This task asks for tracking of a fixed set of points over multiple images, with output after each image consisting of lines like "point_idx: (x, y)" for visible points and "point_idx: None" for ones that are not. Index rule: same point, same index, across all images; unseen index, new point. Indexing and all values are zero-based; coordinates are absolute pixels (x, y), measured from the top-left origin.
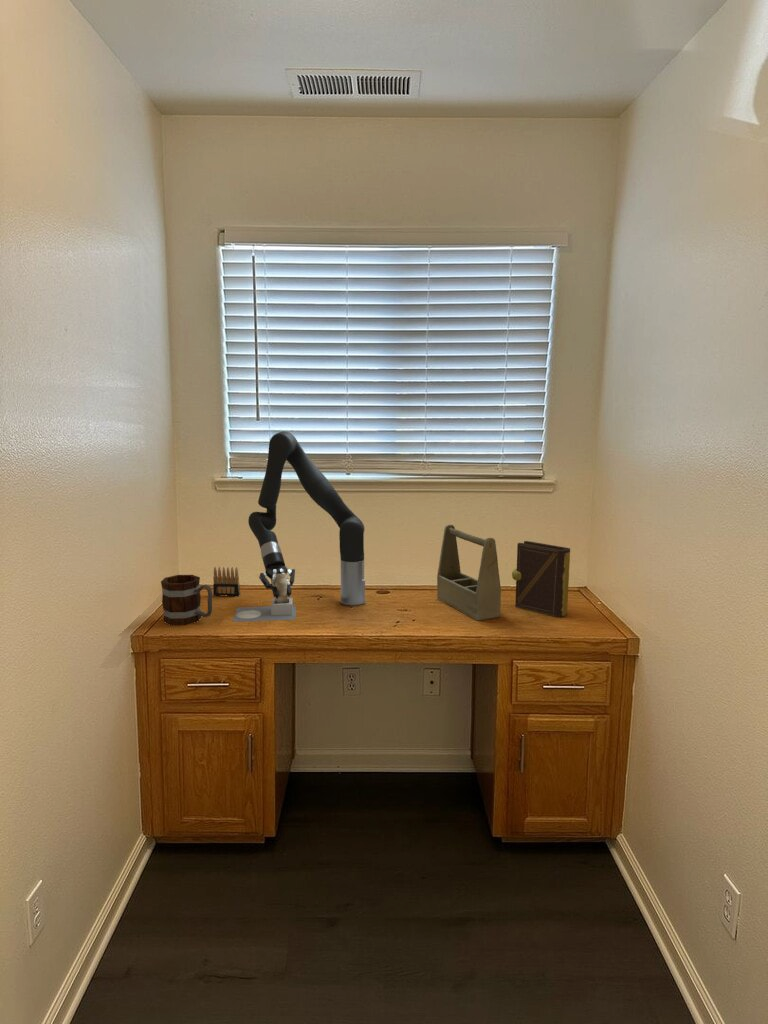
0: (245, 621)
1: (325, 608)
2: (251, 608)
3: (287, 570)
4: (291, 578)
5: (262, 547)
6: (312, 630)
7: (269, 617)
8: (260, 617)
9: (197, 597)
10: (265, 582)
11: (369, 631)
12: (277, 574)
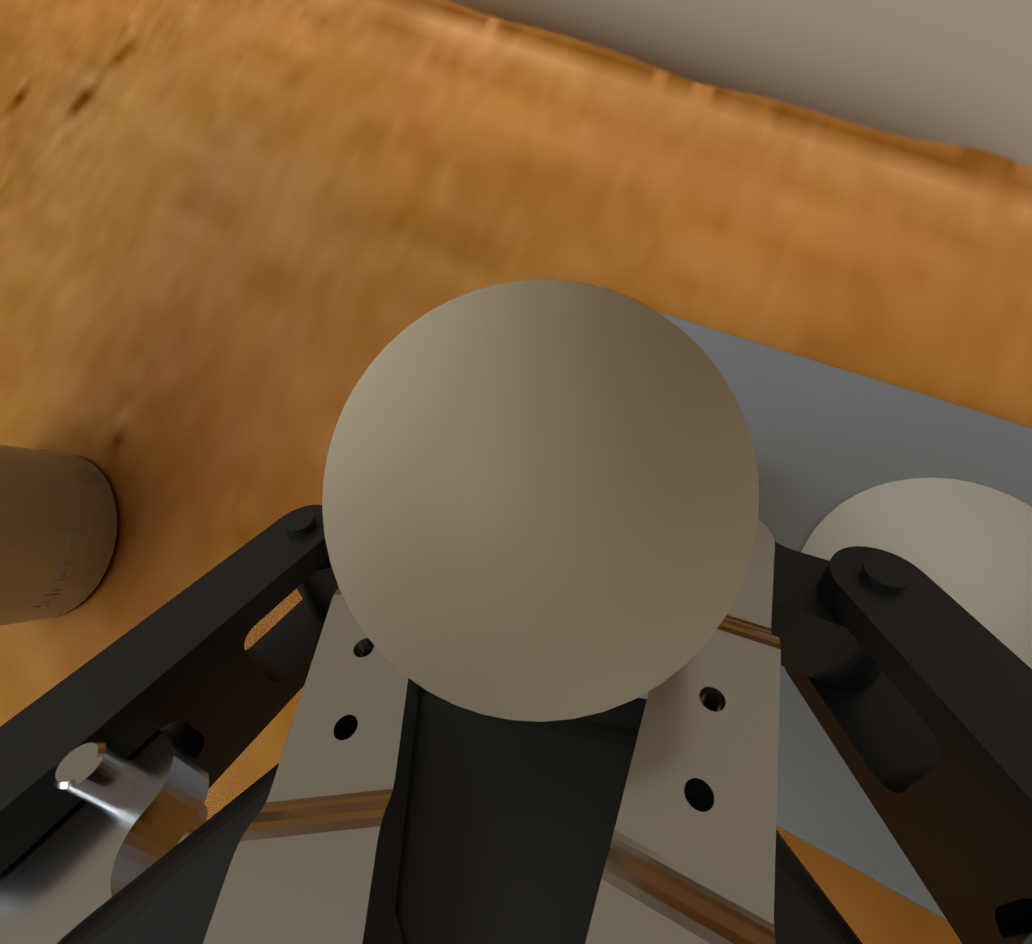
0: (1030, 429)
1: (248, 507)
2: (841, 801)
3: (79, 920)
4: (267, 582)
5: None
6: (522, 126)
7: (752, 424)
8: (837, 465)
9: None
10: (1009, 667)
11: (261, 13)
12: (623, 644)
